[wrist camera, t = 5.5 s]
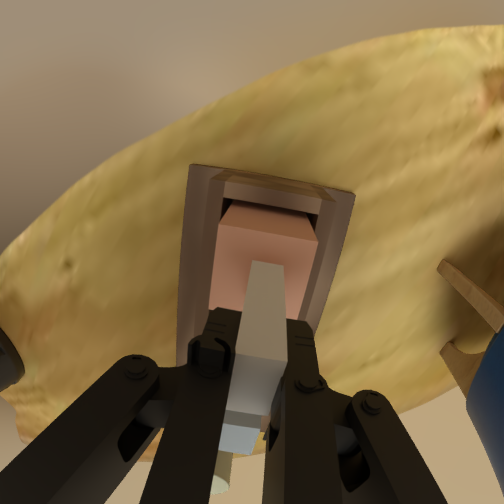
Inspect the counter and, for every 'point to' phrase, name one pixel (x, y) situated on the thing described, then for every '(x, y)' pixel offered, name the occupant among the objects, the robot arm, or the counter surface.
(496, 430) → the planter
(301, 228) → the key terracotta
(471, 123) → the counter surface
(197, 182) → the brown block holder tray
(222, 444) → the grey square block
